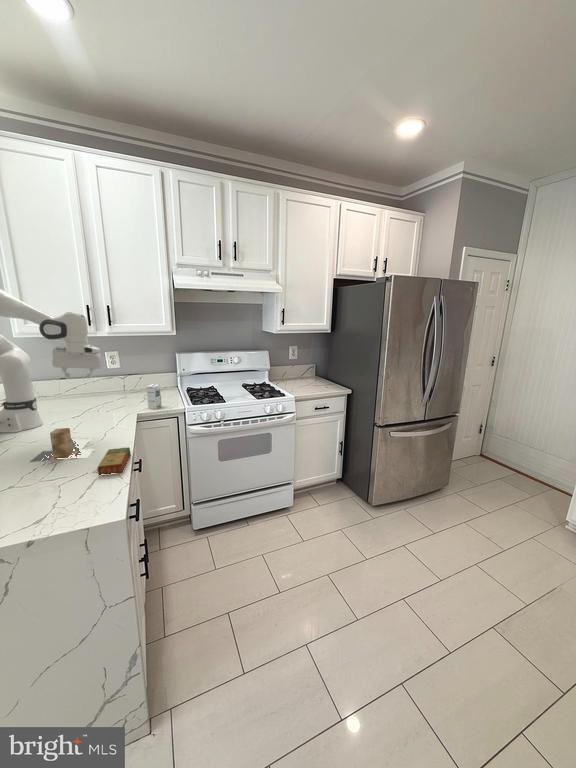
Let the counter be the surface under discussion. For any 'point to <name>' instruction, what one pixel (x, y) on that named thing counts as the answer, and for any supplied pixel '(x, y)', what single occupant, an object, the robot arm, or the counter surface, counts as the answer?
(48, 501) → the counter surface
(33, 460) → the t mat
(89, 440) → the counter surface
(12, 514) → the counter surface
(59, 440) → the oak block
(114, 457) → the carton
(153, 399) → the syrup box
